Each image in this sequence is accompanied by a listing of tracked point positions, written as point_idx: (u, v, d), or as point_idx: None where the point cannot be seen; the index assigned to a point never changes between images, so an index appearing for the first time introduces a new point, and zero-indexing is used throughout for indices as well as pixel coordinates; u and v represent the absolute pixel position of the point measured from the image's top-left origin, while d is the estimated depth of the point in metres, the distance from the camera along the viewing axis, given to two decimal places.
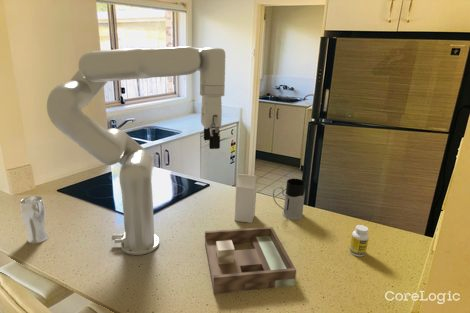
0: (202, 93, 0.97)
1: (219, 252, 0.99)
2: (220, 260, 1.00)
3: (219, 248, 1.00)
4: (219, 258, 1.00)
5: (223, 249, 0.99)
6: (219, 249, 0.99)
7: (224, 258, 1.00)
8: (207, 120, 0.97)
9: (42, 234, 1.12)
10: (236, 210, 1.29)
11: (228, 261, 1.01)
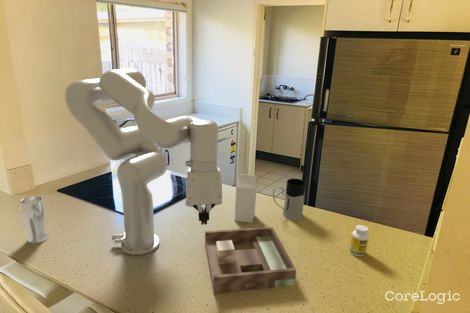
0: (211, 170, 0.89)
1: (219, 252, 0.99)
2: (220, 260, 1.00)
3: (219, 248, 1.00)
4: (219, 258, 1.00)
5: (223, 249, 0.99)
6: (219, 249, 0.99)
7: (224, 258, 1.00)
8: (221, 193, 0.93)
9: (42, 234, 1.12)
10: (236, 210, 1.29)
11: (228, 261, 1.01)
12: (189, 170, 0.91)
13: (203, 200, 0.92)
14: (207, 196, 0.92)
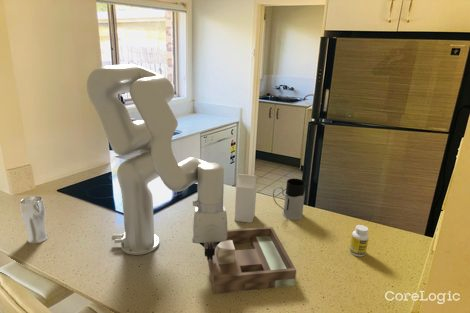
0: (217, 211, 0.93)
1: (219, 252, 0.99)
2: (220, 260, 1.00)
3: (219, 248, 1.00)
4: (219, 258, 1.00)
5: (224, 249, 0.99)
6: (219, 249, 0.99)
7: (225, 258, 1.00)
8: None
9: (42, 234, 1.12)
10: (236, 210, 1.29)
11: (228, 261, 1.01)
12: (196, 210, 0.95)
13: (209, 238, 0.96)
14: (213, 234, 0.96)
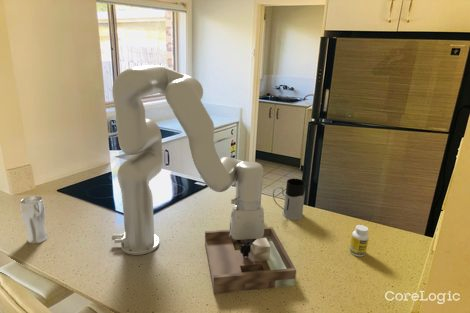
0: (256, 209, 0.95)
1: (256, 249, 1.01)
2: (256, 257, 1.02)
3: (255, 245, 1.02)
4: (255, 255, 1.02)
5: (260, 247, 1.01)
6: (255, 246, 1.01)
7: (260, 255, 1.02)
8: (263, 229, 0.99)
9: (42, 234, 1.12)
10: None
11: (264, 258, 1.03)
12: (235, 208, 0.97)
13: (247, 235, 0.98)
14: (250, 232, 0.98)
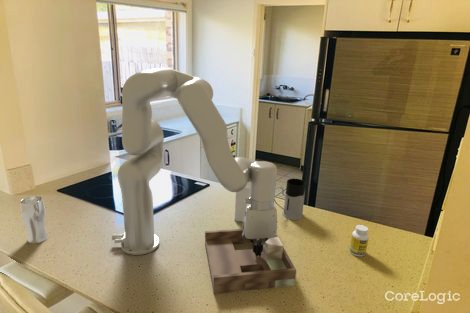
0: (269, 208, 0.96)
1: (268, 248, 1.02)
2: (269, 256, 1.03)
3: (268, 244, 1.03)
4: (268, 254, 1.02)
5: (272, 246, 1.02)
6: (268, 245, 1.02)
7: (273, 255, 1.03)
8: (276, 228, 1.00)
9: (42, 234, 1.12)
10: (236, 210, 1.29)
11: (276, 257, 1.03)
12: (248, 207, 0.98)
13: (260, 235, 0.99)
14: (264, 231, 0.99)
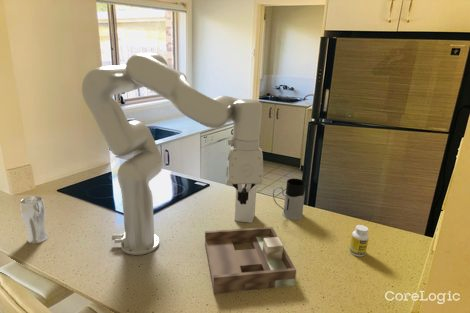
0: (254, 149, 0.90)
1: (268, 248, 1.02)
2: (269, 256, 1.03)
3: (268, 244, 1.03)
4: (268, 254, 1.02)
5: (272, 246, 1.02)
6: (268, 245, 1.02)
7: (273, 255, 1.03)
8: (262, 173, 0.94)
9: (42, 234, 1.12)
10: (236, 210, 1.29)
11: (276, 257, 1.03)
12: (232, 149, 0.91)
13: (244, 179, 0.92)
14: (248, 175, 0.92)
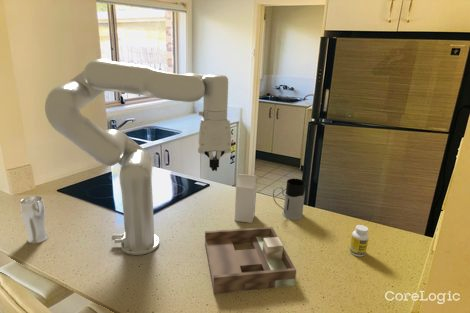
0: (222, 119, 1.00)
1: (268, 248, 1.02)
2: (269, 256, 1.03)
3: (268, 244, 1.03)
4: (268, 254, 1.02)
5: (272, 246, 1.02)
6: (268, 245, 1.02)
7: (273, 255, 1.03)
8: (230, 142, 1.04)
9: (42, 234, 1.12)
10: (236, 210, 1.29)
11: (276, 257, 1.03)
12: (202, 119, 1.02)
13: (214, 147, 1.03)
14: (218, 143, 1.03)
